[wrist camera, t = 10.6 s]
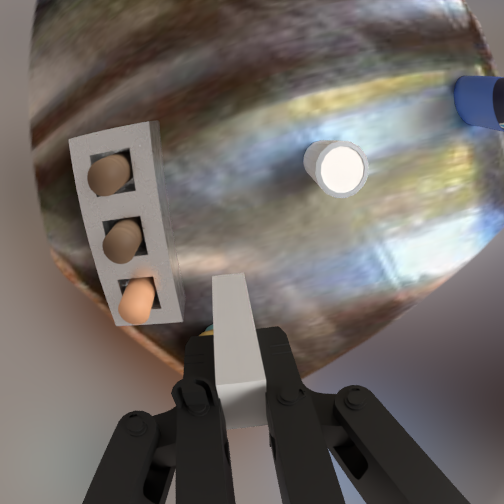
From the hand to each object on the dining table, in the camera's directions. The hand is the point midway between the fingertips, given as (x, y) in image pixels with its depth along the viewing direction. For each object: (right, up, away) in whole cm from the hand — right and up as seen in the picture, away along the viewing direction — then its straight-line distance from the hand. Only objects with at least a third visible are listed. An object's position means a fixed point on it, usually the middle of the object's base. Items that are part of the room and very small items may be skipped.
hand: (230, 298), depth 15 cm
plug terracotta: (-14, -2, +25) cm, 29 cm away
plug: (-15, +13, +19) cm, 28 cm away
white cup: (+11, +15, +24) cm, 30 cm away
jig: (-15, +7, +24) cm, 29 cm away
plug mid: (-15, +6, +23) cm, 28 cm away
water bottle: (+39, +29, +21) cm, 52 cm away
